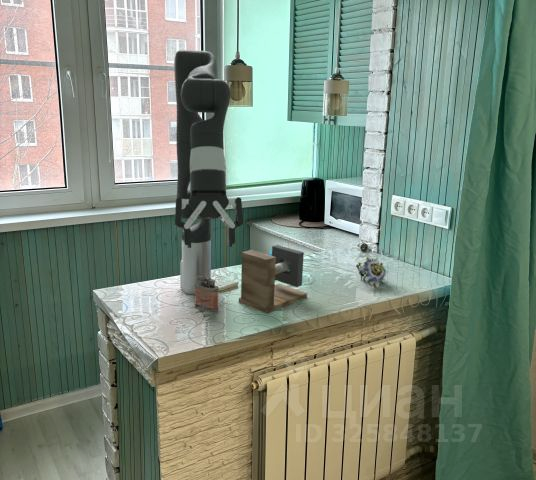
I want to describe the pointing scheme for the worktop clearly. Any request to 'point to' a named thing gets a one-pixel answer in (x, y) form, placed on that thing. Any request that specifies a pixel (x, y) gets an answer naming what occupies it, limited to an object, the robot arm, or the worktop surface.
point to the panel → (296, 265)
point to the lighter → (206, 295)
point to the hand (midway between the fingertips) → (209, 247)
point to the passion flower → (372, 271)
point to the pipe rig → (265, 283)
